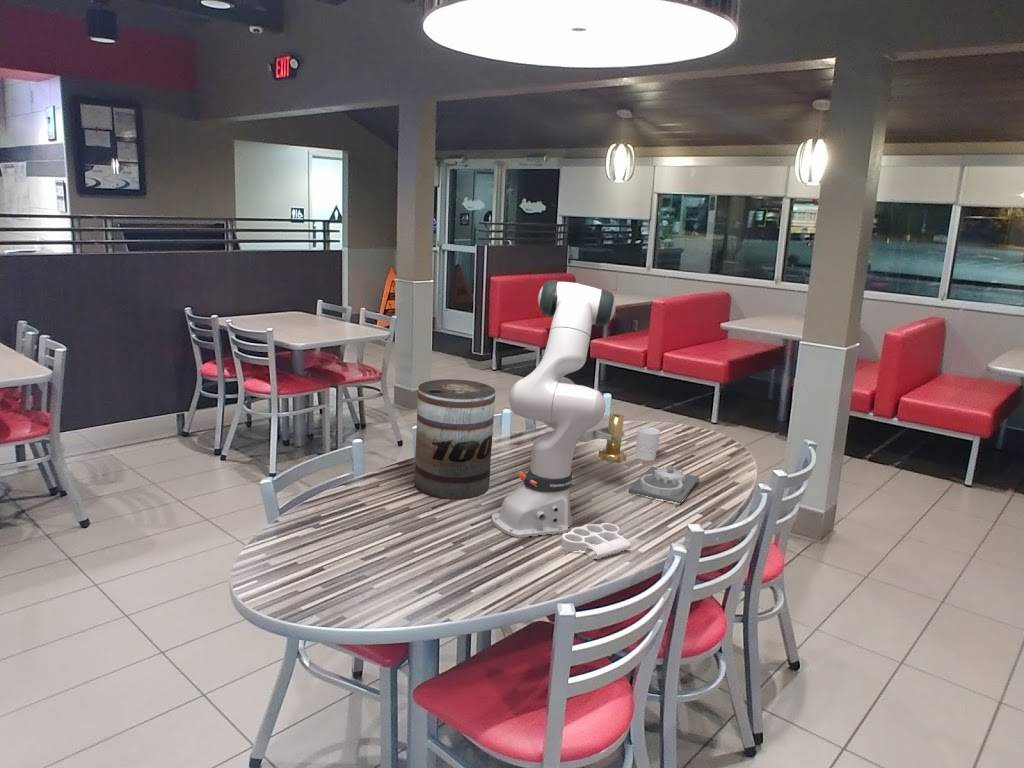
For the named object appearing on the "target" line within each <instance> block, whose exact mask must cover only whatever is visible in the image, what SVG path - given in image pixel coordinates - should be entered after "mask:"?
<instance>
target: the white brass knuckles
mask: <svg viewBox="0 0 1024 768" xmlns="http://www.w3.org/2000/svg"><path fill="white" fill-rule="evenodd" d="M620 531H621V528H620V527H619V526H618V525H616V524H615V523H614V524H613V523H610V522H602V523H598V524H597V523H596V524H595V523H588V524H586V523H585V524H584V525H581V526H575V527H573V528H571V529H570V531H569V530H568V533H563V534H561V543H560V547H561V546H562V547H563V548H565V549H568V550H574V551H579V550H581V551H585V552H589V551H594V552H595V553H596V554H597V560H600V559H603V558H605V556H606V557H609V556H608V555H610V556H612V555H611V554H614V555H616V554H619V553H618V552H620V553H622V552H621V551H623V552H625V551H624V550H626V551H628V550H627V549H630V548H631V549H632V545H631V543H630V541H629V540H627V539H626V537H624V536H622V535H620ZM607 540H611V541H607ZM591 544H596V545H594V546H593V545H591ZM631 549H630V550H631ZM615 553H616V554H615ZM602 557H603V558H602Z"/></svg>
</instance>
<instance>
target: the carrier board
mask: <svg viewBox="0 0 1024 768" xmlns="http://www.w3.org/2000/svg"><path fill="white" fill-rule="evenodd" d="M698 480H699V481H700V477H699V476H695V475H690V474H687V473H684V471H683V470H678V469H676V468H675V466H674V465H667V466H663V467H655V466H651V467H650V468H648V469H647V470H646V471H645V472H644V473H643V474H642V475H641V476H640V477H639V478H638V479H637V480H636V481H635V482H634V483H633V484H632V485H631V486H630V487H629V488H628V492H629V493H634V494H640V495H644V496H648V497H652V498H657V499H663V500H668V501H673V502H677V503H681V502H682V500H683V499H684V498H685V497H686V495H687V494H688V493H689V492H690V490H691V489H692V488H693V487H694V485H695V484H696V483H697V481H698ZM697 484H698V483H697ZM697 484H696V485H697ZM694 488H695V487H694ZM694 488H693V489H694ZM629 493H628V494H629ZM690 493H691V492H690ZM690 493H689V494H690ZM686 498H687V497H686ZM682 503H683V502H682Z"/></svg>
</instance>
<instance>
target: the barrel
mask: <svg viewBox="0 0 1024 768" xmlns="http://www.w3.org/2000/svg"><path fill="white" fill-rule="evenodd" d="M417 389H418V390H417V406H416V407H417V414H416V431H415V432H416V434H415V435H416V436H415V456H414V459H415V460H414V480H413V482H414V483H413V484H415V485H414V489H416V490H417V492H419V491H420V492H419V493H421V494H423V495H425V496H428V497H430V496H431V497H432V498H436V499H439V500H447V499H449V501H452V500H453V501H462V500H469V499H475V498H478V497H481V496H483V495H485V494H486V493H487V492H488V490H489V488H490V478H491V477H490V476H491V463H492V447H493V445H492V444H493V436H494V434H493V433H494V432H493V431H494V419H495V416H494V415H495V407H496V405H495V403H496V392H497V391H496V390H495V388H494V387H492V386H491V385H488V384H486V383H483V382H480V381H479V382H478V381H474V380H465V379H453V378H452V379H447V378H445V379H436V380H435V379H434V380H429V381H425V382H423V383H420V384H419V386H418V387H417Z"/></svg>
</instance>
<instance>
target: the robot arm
mask: <svg viewBox="0 0 1024 768" xmlns="http://www.w3.org/2000/svg"><path fill="white" fill-rule="evenodd" d="M537 296H538V297H537V304H538V307H539V309H538V310H539V311H540V312H541V313H542V315H545V316H547V317H549V318H552V321H551V324H550V330H549V332H548V333H549V334H548V339H547V342H546V346H545V350H544V353H543V356H542V358H541V360H540V362H539V363H538V365H537V366H536V368H534V370H533V371H531V373H529V374H528V375H526V376H525V377H523V378H521V379H518V380H517V381H516V382H515V383H514V385H513V386H512V387H511V388H510V392H509V395H508V396H509V397H508V402H509V407H510V409H511V411H512V412H513V414H515V415H516V416H518V417H521V418H524V419H527V420H531V421H536V422H541V423H544V425H546V426H547V427H549V428H551V429H553V430H554V431H551V432H548V433H545V434H543V435H541V436H539V437H537V438H536V439H535V440H534V441H533V443H532V445H531V456H530V457H531V459H530V468H529V469H528V470H527V471H528V472H527V473H525V472H523V471H522V470H519V471H518V472H517V473H516V476H517V478H518V479H520V480H522V481H523V483H521V484H520V485H519V486H518V487H517V488H516V489H514V490H513V491H512V492H511V493H509V494H508V495H507V496H506V497H504V498H503V501H502V502H501V503H502V504H501V507H500V512H496V513H493V514H491V522H492V524H493V525H494V527H496V528H497V529H498V530H500V531H501V532H503V533H504V534H506V535H509V536H510V535H511V537H513V536H514V537H513V538H517V537H521V538H530V537H529V536H532V537H539V536H538V535H542V536H547V535H546V534H552V535H557V534H556V533H563V534H564V533H565V532H569V528H570V526H572V524H573V518H572V512H571V498H570V493H571V491H570V490H571V487H572V482H573V472H572V467H573V466H572V464H573V460H574V459H573V458H574V453H575V449H576V446H577V443H578V441H579V442H583V443H587V442H591V441H595V440H598V439H599V440H605V441H607V440H612V439H613V438H612V437H613V435H612V434H610V433H608V427H609V418H610V415H607V414H606V401H605V398H604V396H603V394H602V393H601V391H600V390H597V389H594V388H591V387H588V386H585V385H580V384H576V383H575V381H574V380H572V379H571V378H568V377H565V376H566V375H568V374H571V373H575V372H577V371H578V370H580V369H581V368H582V367H584V365H585V363H586V361H587V356H588V350H589V345H590V340H591V334H592V326H593V325H595V327H600V326H601V327H604V326H606V325H608V324H609V323H610V322H611V320H612V319H613V317H614V315H615V311H616V307H617V306H616V301H615V296H614V294H613V293H612V292H611V291H609V290H607V289H604V288H602V289H600V288H597V287H594V286H591V285H586V284H581V283H578V282H570V281H559V280H554V279H552V280H547V281H546V282H544V283H543V285H542V286H541V288H540V290H539V292H538V295H537ZM624 436H625V431H624V430H623V431H622V437H624ZM568 527H569V528H568Z"/></svg>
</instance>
